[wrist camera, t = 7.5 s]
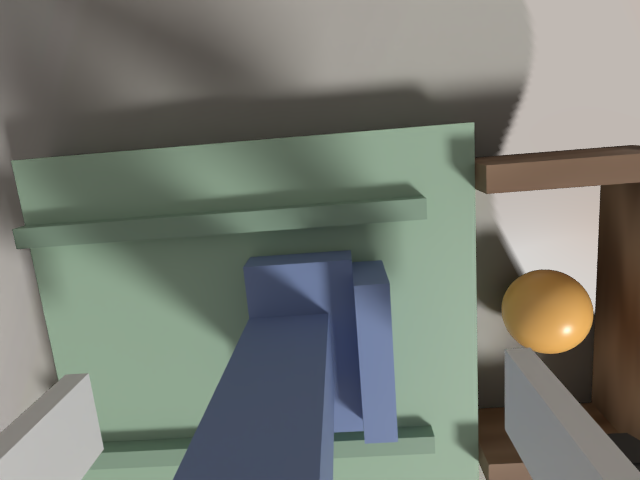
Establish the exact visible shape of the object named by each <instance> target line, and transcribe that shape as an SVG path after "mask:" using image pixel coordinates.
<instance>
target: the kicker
mask: <svg viewBox="0 0 640 480" xmlns="http://www.w3.org/2000/svg"><path fill="white" fill-rule="evenodd" d="M243 271H244V280H245V288H246V297H247V305H248V313H249V320H248V322H247V324H246V326H245V328H244V330H243V332H242V335H241V337H240V339H239V341H238V343H237V345H236V347H235V349H234V351H233V354H232V356H231V358H230V360H229V362H228V364H227V366H226V368H225V370H224V373H223V375H222V377H221V379H220V381H219V383H218V385H217V387H216V389H215V392H214V394H213V396H212V398H211V400H210V402H209V404H208V406H207V408H206V411H205V413H204V415H203V417H202V419H201V421H200V423H199V425H198V427H197V430H196V432H195V434H194V436H193V438H192V440H191V442H190V444H189V446H188V449H187V451H186V453H185V455H184V457H183V459H182V461H181V463H180V465H179V468H178V470H177V472H176V474H175V476H174V478H173V480H333V454H334V433H336V432H356V431H364V439H365V444H368V443H389V442H398V430H397V411H396V392H395V373H394V354H393V335H392V316H391V297H390V283H389V280H388V277H387V274H386V271H385V268H384V265H383V262H382V260H377V261H363V262H352V258H351V250H344V251H329V252H315V253H301V254H287V255H272V256H258V257H250V258H249V259H248V261H247V262H246V264H245V265H244V267H243ZM363 427H364V429H363Z"/></svg>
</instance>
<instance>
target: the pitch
mask: <svg viewBox="0 0 640 480" xmlns="http://www.w3.org/2000/svg"><path fill="white" fill-rule="evenodd" d="M11 163H12V167H13V172H14V177H15V181H16V186H17V190H18V195H19V200H20V204H21V209H22V214H23V218H24V223H25V226H21V227H18V228H15V229H12V231H13V235H14V240H15V244H16V249H27V248H30V251H31V255H32V260H33V265H34V269H35V274H36V279H37V283H38V288H39V292H40V297H41V302H42V306H43V311H44V316H45V320H46V325H47V329H48V334H49V339H50V343H51V348H52V353H53V357H54V362H55V367H56V371H57V376H58V380H60V379H61V378H62V377H63V376H64V375H66V374H84V373H89V377H90V382H91V387H92V392H93V397H94V402H95V407H96V412H97V417H98V422H99V427H100V432H101V437H102V442H103V447H104V450H103V451H102V452H101V454H100V455H99V456H98V458H97V459H96V460H95V462H94V463H93V465H92V466H91V467H90V469H89V470H88V471H87V473H86V474H85V475H84V477H83V478H82V480H173V478H174V476H175V474H176V472H177V470H178V468H179V465H180V463H181V461H182V459H183V457H184V455H185V453H186V451H187V449H188V446H189V444H190V442H191V440H192V438H193V436H194V434H195V432H196V430H197V427H198V425H199V423H200V421H201V419H202V417H203V415H204V413H205V411H206V408H207V406H208V404H209V402H210V400H211V398H212V396H213V394H214V392H215V389H216V387H217V385H218V383H219V381H220V379H221V377H222V375H223V373H224V370H225V368H226V366H227V364H228V362H229V360H230V358H231V356H232V354H233V351H234V349H235V347H236V345H237V343H238V341H239V339H240V337H241V335H242V332H243V330H244V328H245V326H246V324H247V322H248V320H249V313H248V305H247V297H246V288H245V280H244V271H243V267H244V265H245V264H246V262H247V261H248V259H249V258H250V257H258V256H272V255H287V254H301V253H315V252H329V251H344V250H351V258H352V262H363V261H377V260H382V262H383V265H384V268H385V271H386V274H387V277H388V280H389V283H390V297H391V316H392V335H393V354H394V373H395V392H396V411H397V430H398V442H389V443H368V444H365V439H364V431H356V432H336V433H334V454H333V480H479V451H478V373H477V295H476V217H475V139H474V122H470V123H454V124H442V125H430V126H417V127H405V128H393V129H381V130H369V131H357V132H345V133H333V134H321V135H309V136H297V137H285V138H273V139H261V140H249V141H237V142H225V143H213V144H201V145H189V146H177V147H165V148H153V149H141V150H128V151H116V152H104V153H92V154H80V155H68V156H56V157H45V158H34V159H24V160H13V161H11ZM363 429H364V427H363Z"/></svg>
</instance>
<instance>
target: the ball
mask: <svg viewBox="0 0 640 480" xmlns="http://www.w3.org/2000/svg"><path fill="white" fill-rule="evenodd" d="M502 318H503V321H504V324H505V326H506V328H507V330H508V332H509V333H510V335H511V336H512V337H513V338H514V339H515V340H516V341H517V342H518V343H520V344H521V345H522V346H524V347H526V348H531V349H532V350H533V351H535V352H539V353H545V354H555V353H561V352H565V351H568V350H570V349H572V348H574V347H576V346H577V345H578V344H579V343H581V342H582V341H583V340H584V339H585V337H586V336H587V334H588V333H589V331H590V328H591V326H592V322H593V306H592V303H591V300H590V297H589V295H588V293H587V292H586V291H585V289H584V288H583V286H582V285H580V283H579V282H577V281H576V280H575V279H573V278H572V277H570V276H568V275H566V274H564V273H561V272H558V271H554V270H536V271H531V272H528V273H526V274H524V275H522V276H520V277H518V278H517V279H516V280H515V281H514V282H513V283H512V284H511V285H510V286H509V287H508V289H507V290H506V292H505V295H504V297H503V301H502Z"/></svg>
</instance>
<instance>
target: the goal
mask: <svg viewBox="0 0 640 480" xmlns="http://www.w3.org/2000/svg"><path fill="white" fill-rule="evenodd" d="M597 185H601V190H600V215H599V238H598V261H597V285H596V307H595V330H594V354H593V377H592V400H591V403H580V405H581V406H582V407H583V408H584V409H585V410H586V411H587V412H588V414H589V415H590V416H591V417H592V418H593V419H594V420H595V422H596V423H597V424H598V425H599V426H600V427H601V428H602V430H603V431H604V432H605V433H606V434H611V433H628V434H630V435H632V436H633V437H635V438H637V439H638V440H640V146H637V145H628V146H615V147H602V148H590V149H577V150H564V151H552V152H539V153H526V154H514V155H501V156H488V157H476V158H475V189H477V190H479V191H481V192H484V193H486V194H491V193H504V192H517V191H530V190H543V189H557V188H569V187H584V186H597ZM478 451H479V464H480V466H481V468H482V471H483V473H484V476H485V478H486V480H533V479H532V477H531V476H530V474H529V472H528V470H527V468H526V467H525V465H524V463H523V461H522V459H521V457H520V456H519V454H518V452H517V450H516V448H515V447H514V445H513V443H512V441H511V439H510V438H509V436H508V434H507V432H506V430H505V407H500V408H481V409H478Z"/></svg>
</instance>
